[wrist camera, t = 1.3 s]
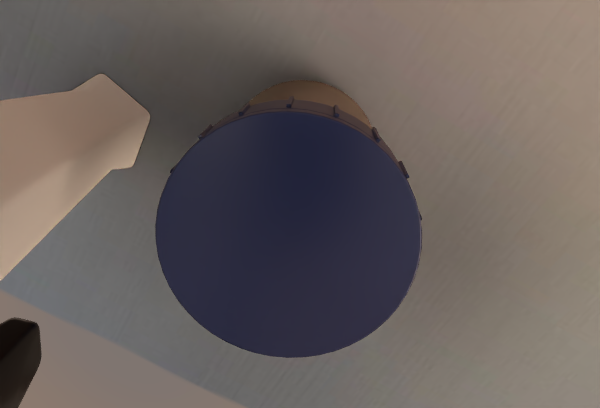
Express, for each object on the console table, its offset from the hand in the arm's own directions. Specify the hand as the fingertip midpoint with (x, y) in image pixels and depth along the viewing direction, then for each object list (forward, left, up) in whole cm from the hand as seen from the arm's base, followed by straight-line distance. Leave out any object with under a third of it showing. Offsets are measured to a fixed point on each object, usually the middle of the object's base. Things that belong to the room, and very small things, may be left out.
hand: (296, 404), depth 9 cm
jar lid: (0, +1, -5) cm, 5 cm away
